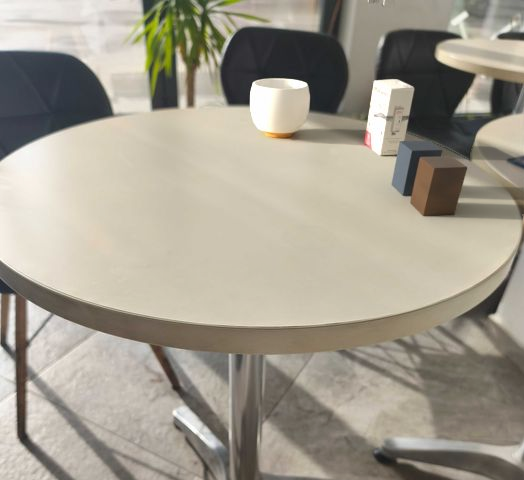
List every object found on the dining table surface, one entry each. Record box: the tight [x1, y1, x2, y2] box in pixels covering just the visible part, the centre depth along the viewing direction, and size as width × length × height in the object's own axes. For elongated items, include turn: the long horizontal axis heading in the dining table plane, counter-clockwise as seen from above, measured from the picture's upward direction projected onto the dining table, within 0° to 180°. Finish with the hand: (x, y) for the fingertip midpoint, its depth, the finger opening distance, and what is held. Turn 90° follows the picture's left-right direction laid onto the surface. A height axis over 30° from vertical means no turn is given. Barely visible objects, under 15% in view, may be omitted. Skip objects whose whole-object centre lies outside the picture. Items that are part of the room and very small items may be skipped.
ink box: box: [363, 78, 415, 156], centre depth 95 cm, size 9×5×12 cm, turn 12°
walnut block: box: [409, 155, 468, 217], centre depth 73 cm, size 5×5×7 cm
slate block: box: [391, 140, 443, 197], centre depth 79 cm, size 5×5×7 cm
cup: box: [249, 77, 311, 139], centre depth 102 cm, size 12×12×10 cm
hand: (380, 5), depth 86 cm, fingers open, 8 cm apart
